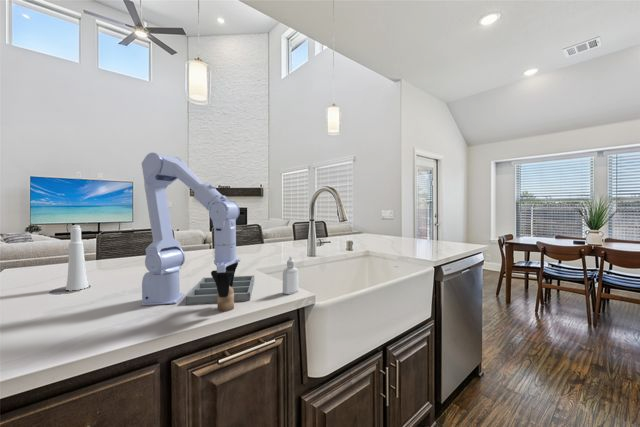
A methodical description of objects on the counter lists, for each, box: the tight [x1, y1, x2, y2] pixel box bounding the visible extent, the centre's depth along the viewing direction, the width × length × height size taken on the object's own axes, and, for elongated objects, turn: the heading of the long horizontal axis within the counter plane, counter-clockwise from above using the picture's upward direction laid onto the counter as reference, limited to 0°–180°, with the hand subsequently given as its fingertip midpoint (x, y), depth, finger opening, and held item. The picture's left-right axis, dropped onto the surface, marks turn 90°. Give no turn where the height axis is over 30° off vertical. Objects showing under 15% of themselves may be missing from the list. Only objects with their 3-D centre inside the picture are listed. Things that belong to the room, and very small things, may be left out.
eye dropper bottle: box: [282, 256, 299, 295], centre depth 91 cm, size 4×6×12 cm
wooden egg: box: [217, 286, 235, 313], centre depth 77 cm, size 4×4×7 cm
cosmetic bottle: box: [65, 224, 89, 292], centre depth 95 cm, size 6×6×22 cm
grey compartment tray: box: [185, 275, 255, 305], centre depth 92 cm, size 18×21×2 cm
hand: (225, 292), depth 77 cm, fingers open, 7 cm apart
